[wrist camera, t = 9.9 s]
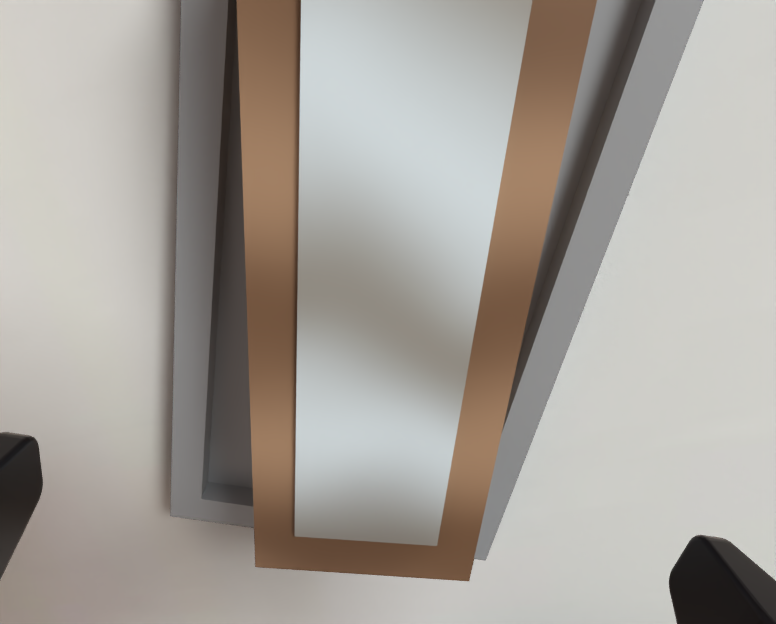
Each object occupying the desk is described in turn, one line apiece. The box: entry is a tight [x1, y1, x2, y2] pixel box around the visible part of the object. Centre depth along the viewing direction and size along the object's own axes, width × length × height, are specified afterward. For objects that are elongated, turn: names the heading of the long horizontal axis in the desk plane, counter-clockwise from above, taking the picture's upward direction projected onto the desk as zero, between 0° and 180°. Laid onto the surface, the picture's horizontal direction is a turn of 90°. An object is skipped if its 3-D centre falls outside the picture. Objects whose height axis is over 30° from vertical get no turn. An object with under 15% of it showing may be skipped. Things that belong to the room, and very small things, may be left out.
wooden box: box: [237, 0, 597, 581], centre depth 15 cm, size 16×6×4 cm, turn 175°
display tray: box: [170, 0, 704, 560], centre depth 16 cm, size 21×11×1 cm, turn 169°
